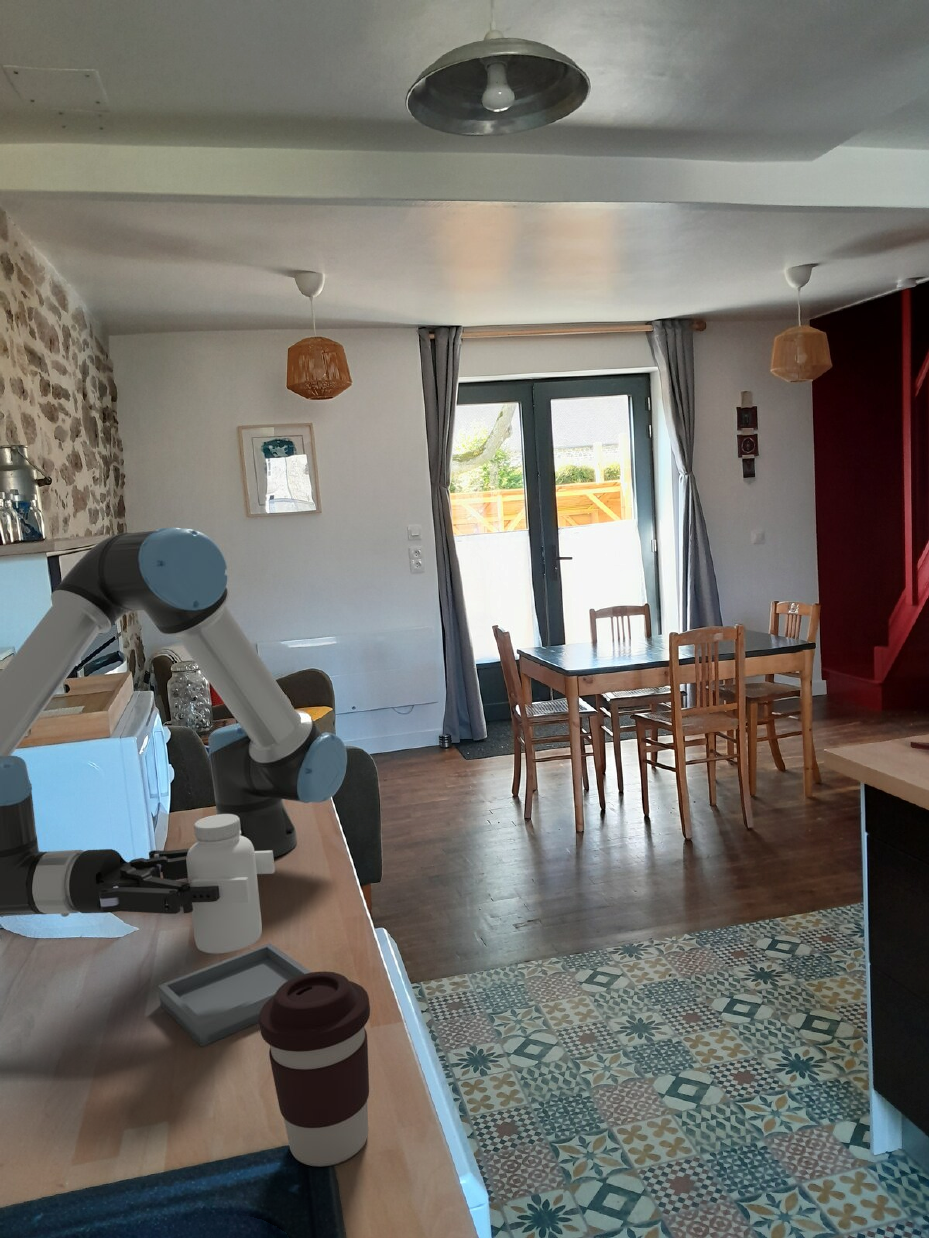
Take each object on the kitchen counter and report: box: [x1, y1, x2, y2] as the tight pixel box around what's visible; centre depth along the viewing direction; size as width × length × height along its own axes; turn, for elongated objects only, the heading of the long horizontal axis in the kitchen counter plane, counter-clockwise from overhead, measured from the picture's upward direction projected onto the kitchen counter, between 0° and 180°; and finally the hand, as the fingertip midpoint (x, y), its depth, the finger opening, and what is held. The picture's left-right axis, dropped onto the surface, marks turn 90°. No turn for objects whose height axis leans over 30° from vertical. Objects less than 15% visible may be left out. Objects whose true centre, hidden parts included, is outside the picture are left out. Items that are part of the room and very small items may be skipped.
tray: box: [157, 942, 312, 1048], centre depth 113 cm, size 15×13×2 cm
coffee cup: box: [258, 970, 371, 1167], centre depth 85 cm, size 10×10×15 cm
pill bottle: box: [186, 814, 263, 954], centre depth 111 cm, size 8×8×15 cm
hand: (260, 875), depth 111 cm, fingers closed on pill bottle, 8 cm apart
